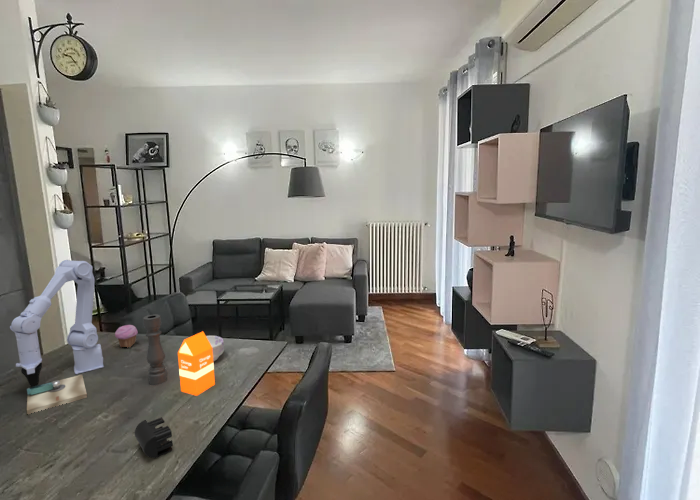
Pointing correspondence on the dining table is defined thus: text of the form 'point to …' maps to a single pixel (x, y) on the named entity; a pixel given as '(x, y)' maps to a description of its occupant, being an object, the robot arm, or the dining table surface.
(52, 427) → the dining table surface
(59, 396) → the latch board
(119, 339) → the cupcake
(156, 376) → the candle holder
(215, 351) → the paper bowls
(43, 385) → the teal rounded rod
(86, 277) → the robot arm
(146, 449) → the end cap
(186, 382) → the orange juice
